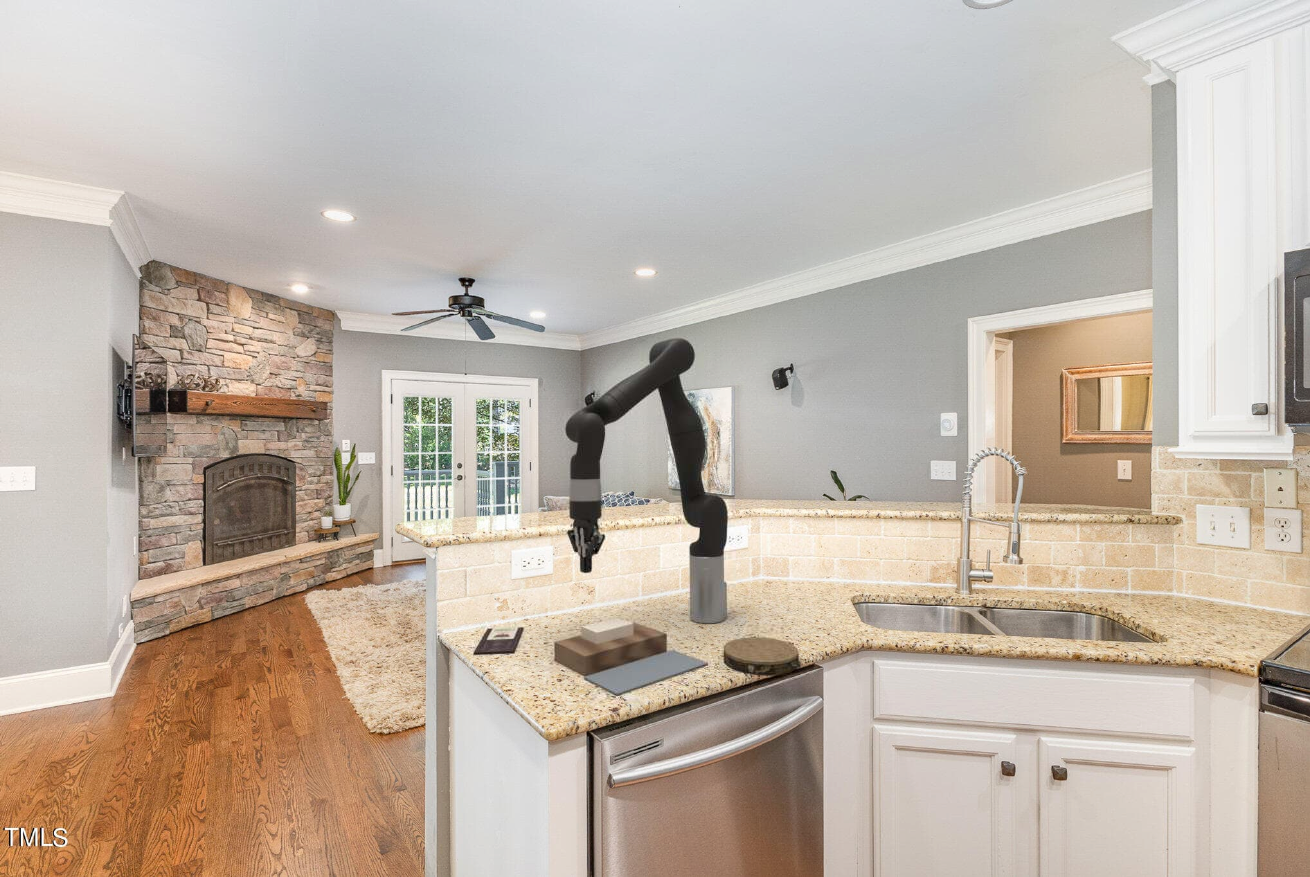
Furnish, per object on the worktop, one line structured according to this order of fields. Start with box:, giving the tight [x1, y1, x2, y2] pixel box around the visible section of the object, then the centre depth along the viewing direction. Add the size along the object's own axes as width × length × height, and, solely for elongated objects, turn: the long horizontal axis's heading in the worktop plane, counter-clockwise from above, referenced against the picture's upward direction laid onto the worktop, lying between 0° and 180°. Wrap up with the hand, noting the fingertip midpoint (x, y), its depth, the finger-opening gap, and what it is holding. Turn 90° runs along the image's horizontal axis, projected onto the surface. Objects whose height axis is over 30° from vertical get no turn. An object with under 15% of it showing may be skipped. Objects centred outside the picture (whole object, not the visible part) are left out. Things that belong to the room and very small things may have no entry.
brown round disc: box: [723, 636, 800, 677], centre depth 130 cm, size 16×16×3 cm
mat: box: [583, 649, 709, 697], centre depth 125 cm, size 24×11×1 cm, turn 130°
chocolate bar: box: [473, 626, 525, 656], centre depth 145 cm, size 9×1×18 cm
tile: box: [580, 617, 633, 644], centre depth 136 cm, size 10×6×2 cm, turn 130°
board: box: [553, 622, 668, 677], centre depth 135 cm, size 22×12×4 cm, turn 130°
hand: (585, 572), depth 142 cm, fingers closed
